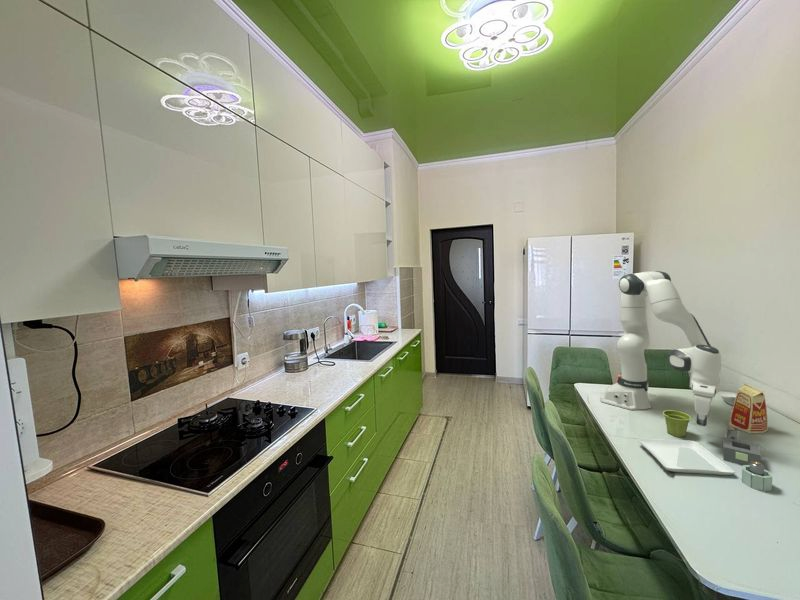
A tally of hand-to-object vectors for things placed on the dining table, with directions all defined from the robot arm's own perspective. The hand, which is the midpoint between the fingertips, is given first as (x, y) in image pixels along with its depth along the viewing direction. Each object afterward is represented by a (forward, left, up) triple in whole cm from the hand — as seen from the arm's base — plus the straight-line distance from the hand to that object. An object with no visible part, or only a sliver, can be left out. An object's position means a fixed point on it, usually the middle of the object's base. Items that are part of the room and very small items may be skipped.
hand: (701, 416), depth 134 cm
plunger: (+11, -9, -7) cm, 16 cm away
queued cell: (+9, +2, -11) cm, 14 cm away
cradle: (+11, -9, -11) cm, 18 cm away
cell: (0, 0, -3) cm, 3 cm away
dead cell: (+14, -25, -10) cm, 30 cm away
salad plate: (-5, -21, -11) cm, 24 cm away
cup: (+14, -25, -11) cm, 31 cm away
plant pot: (-8, +2, -11) cm, 14 cm away
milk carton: (+15, +25, -11) cm, 31 cm away
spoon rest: (+13, +49, -11) cm, 52 cm away
